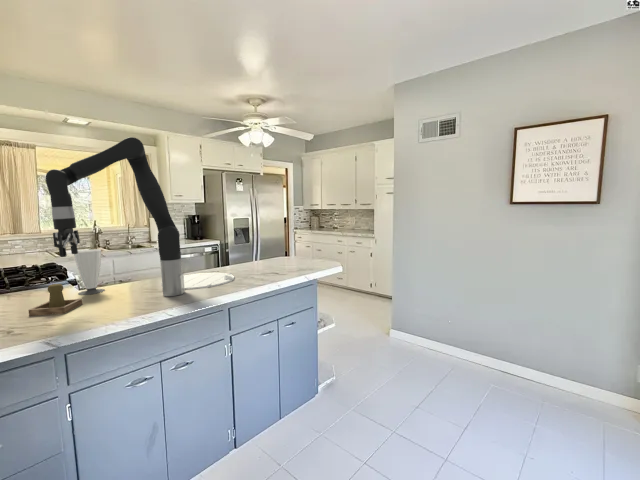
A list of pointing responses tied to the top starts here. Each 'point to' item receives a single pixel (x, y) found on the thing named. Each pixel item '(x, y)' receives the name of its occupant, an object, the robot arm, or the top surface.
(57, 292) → the olive brown tapered block
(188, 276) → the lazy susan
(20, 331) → the top surface
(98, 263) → the cup
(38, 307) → the box
